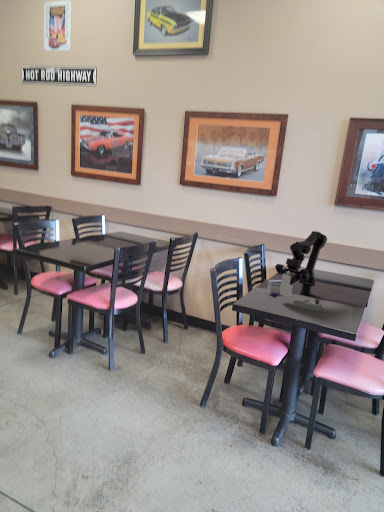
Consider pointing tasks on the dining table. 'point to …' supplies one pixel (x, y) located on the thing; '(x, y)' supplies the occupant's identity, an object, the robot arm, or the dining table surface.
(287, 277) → the housing
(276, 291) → the medicine box
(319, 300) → the ram
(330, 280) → the dining table surface
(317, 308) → the press bed
